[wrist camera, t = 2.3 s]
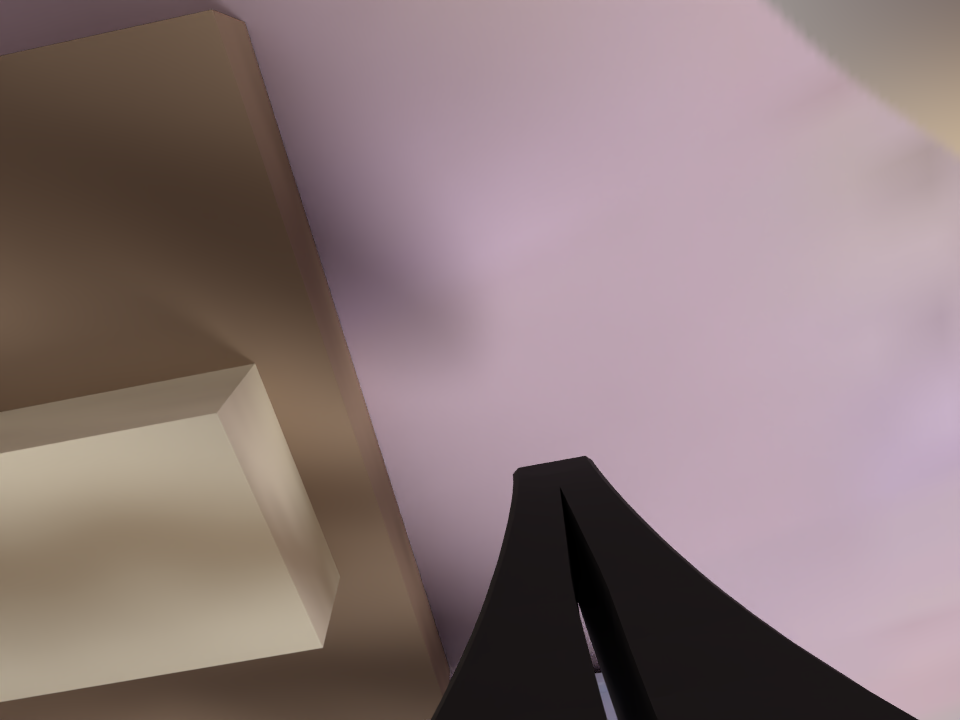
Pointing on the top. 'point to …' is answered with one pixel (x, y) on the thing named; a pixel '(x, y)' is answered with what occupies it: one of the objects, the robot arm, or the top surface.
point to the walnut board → (200, 336)
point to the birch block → (154, 536)
